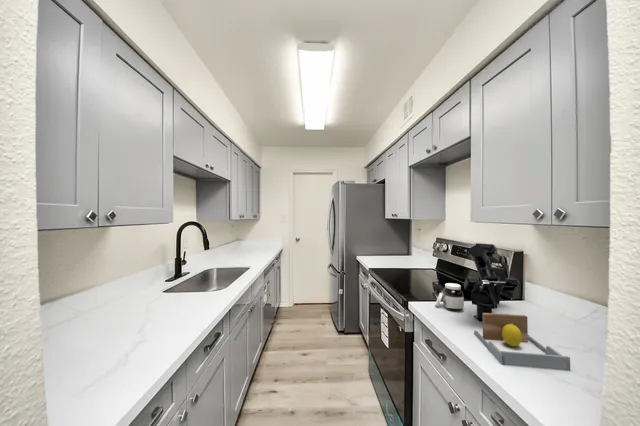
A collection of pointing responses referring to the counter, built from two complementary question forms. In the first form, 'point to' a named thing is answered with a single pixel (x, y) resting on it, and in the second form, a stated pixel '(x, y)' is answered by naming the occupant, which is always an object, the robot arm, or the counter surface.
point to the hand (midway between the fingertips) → (497, 304)
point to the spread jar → (452, 297)
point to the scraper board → (497, 321)
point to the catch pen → (529, 356)
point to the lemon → (511, 335)
